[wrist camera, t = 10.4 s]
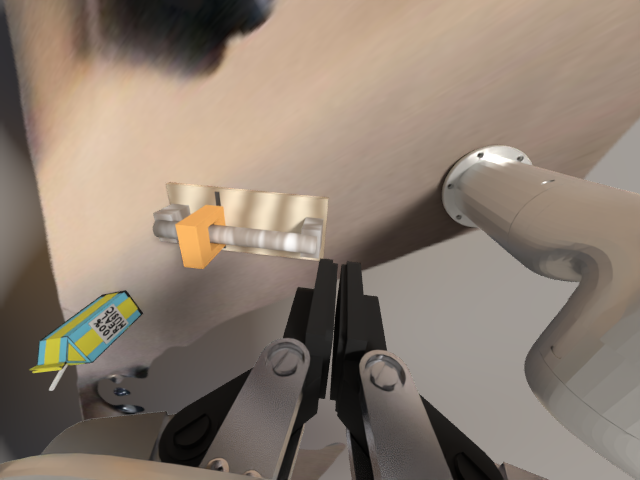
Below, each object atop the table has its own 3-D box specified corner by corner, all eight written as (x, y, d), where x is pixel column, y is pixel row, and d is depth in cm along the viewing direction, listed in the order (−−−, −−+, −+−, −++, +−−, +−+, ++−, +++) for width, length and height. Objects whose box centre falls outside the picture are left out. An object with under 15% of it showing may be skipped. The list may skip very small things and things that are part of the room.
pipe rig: (328, 197, 42) (324, 213, 35) (323, 258, 47) (319, 282, 41) (169, 182, 43) (136, 194, 37) (182, 242, 49) (155, 263, 42)
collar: (223, 206, 42) (196, 226, 34) (227, 243, 45) (203, 269, 37) (206, 204, 42) (175, 224, 34) (211, 241, 45) (184, 266, 38)
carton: (120, 320, 61) (39, 393, 45) (101, 295, 58) (6, 364, 42) (145, 316, 59) (70, 390, 43) (126, 290, 56) (38, 360, 40)
